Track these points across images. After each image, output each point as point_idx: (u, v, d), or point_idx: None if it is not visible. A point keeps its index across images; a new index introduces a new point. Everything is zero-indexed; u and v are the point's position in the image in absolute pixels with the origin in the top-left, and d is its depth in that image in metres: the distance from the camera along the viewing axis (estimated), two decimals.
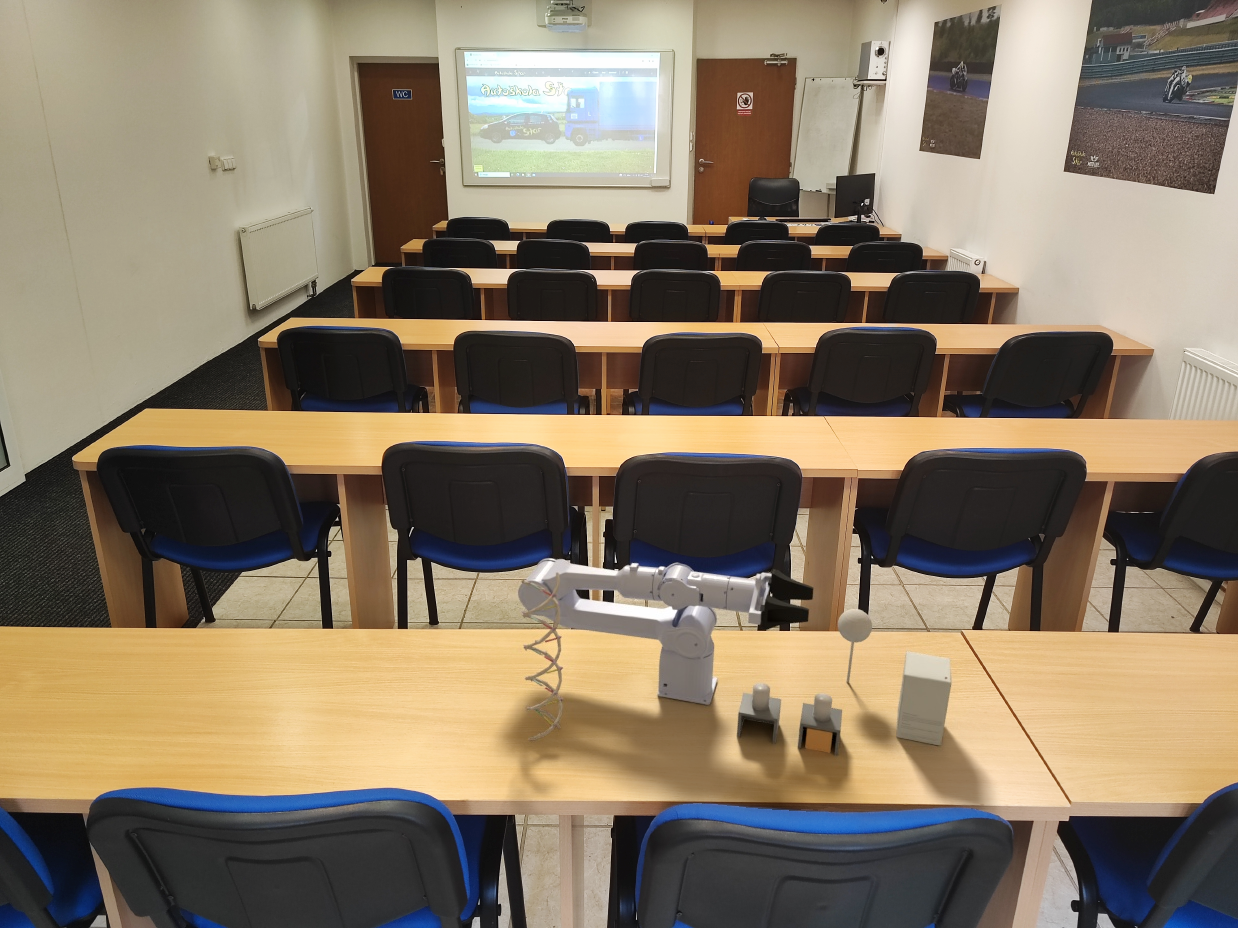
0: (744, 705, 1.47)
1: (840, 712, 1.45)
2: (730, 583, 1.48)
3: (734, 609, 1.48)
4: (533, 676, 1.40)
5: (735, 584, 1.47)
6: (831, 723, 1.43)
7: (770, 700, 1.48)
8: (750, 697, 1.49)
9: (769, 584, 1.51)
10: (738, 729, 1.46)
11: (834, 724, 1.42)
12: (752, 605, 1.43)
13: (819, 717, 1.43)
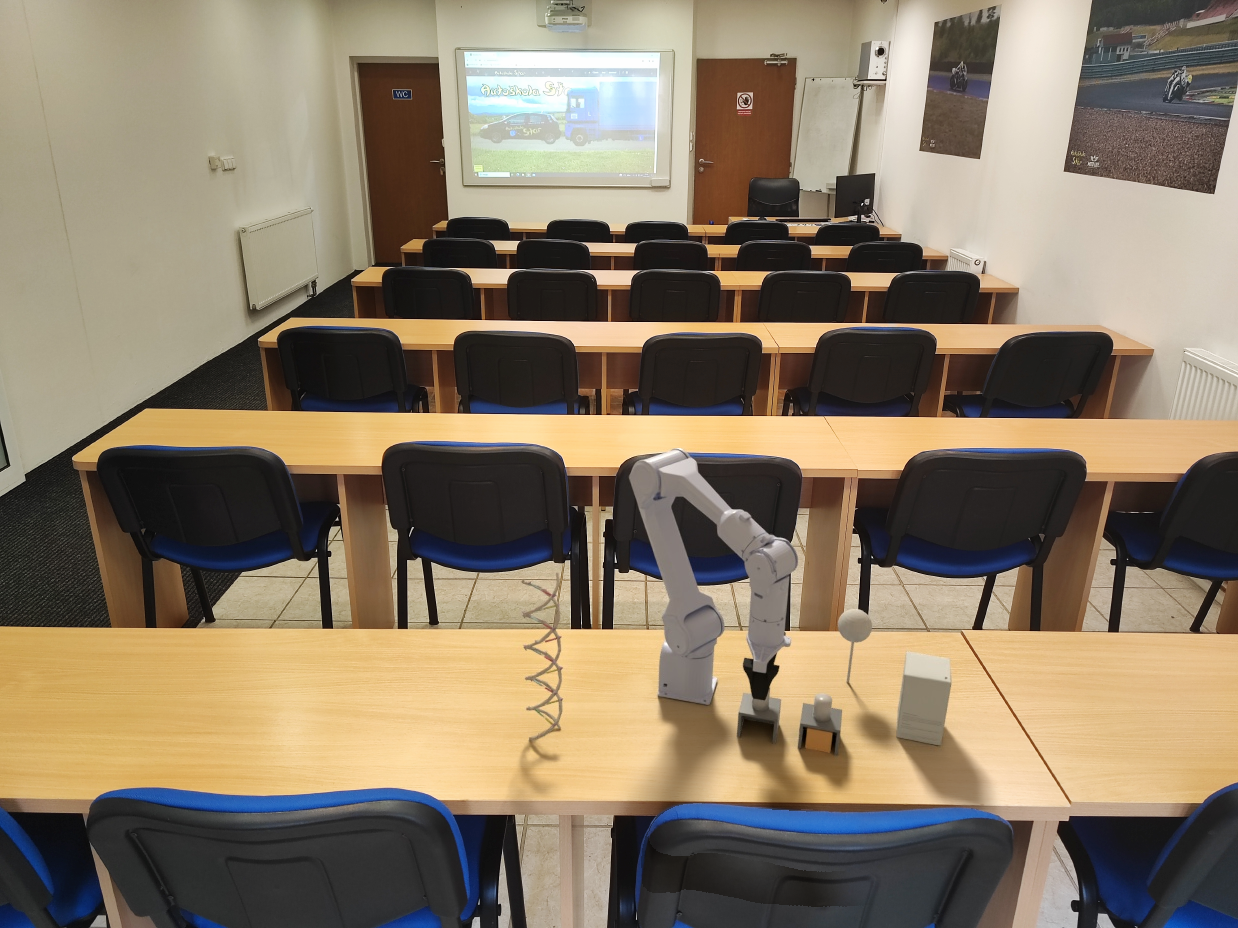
0: (744, 705, 1.47)
1: (840, 712, 1.45)
2: (782, 621, 1.39)
3: (754, 625, 1.39)
4: (533, 676, 1.40)
5: (782, 625, 1.39)
6: (831, 723, 1.43)
7: (770, 700, 1.48)
8: (750, 697, 1.49)
9: None
10: (738, 729, 1.46)
11: (834, 724, 1.42)
12: (769, 657, 1.37)
13: (819, 717, 1.43)
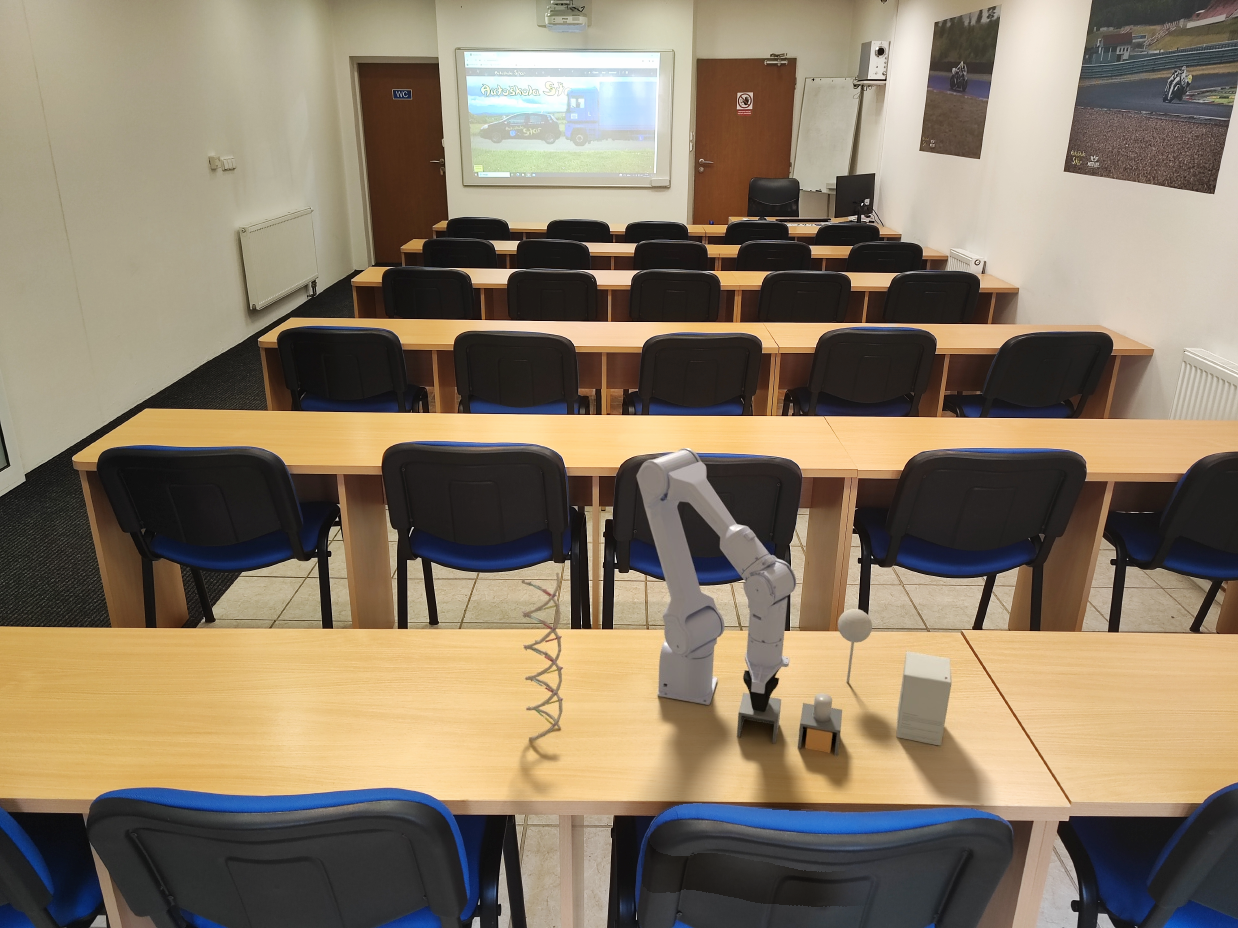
0: (744, 705, 1.47)
1: (840, 712, 1.45)
2: (780, 641, 1.40)
3: (753, 646, 1.40)
4: (533, 676, 1.40)
5: (780, 646, 1.40)
6: (831, 723, 1.43)
7: (770, 700, 1.48)
8: None
9: None
10: (738, 729, 1.46)
11: (834, 724, 1.42)
12: (767, 678, 1.38)
13: (819, 717, 1.43)
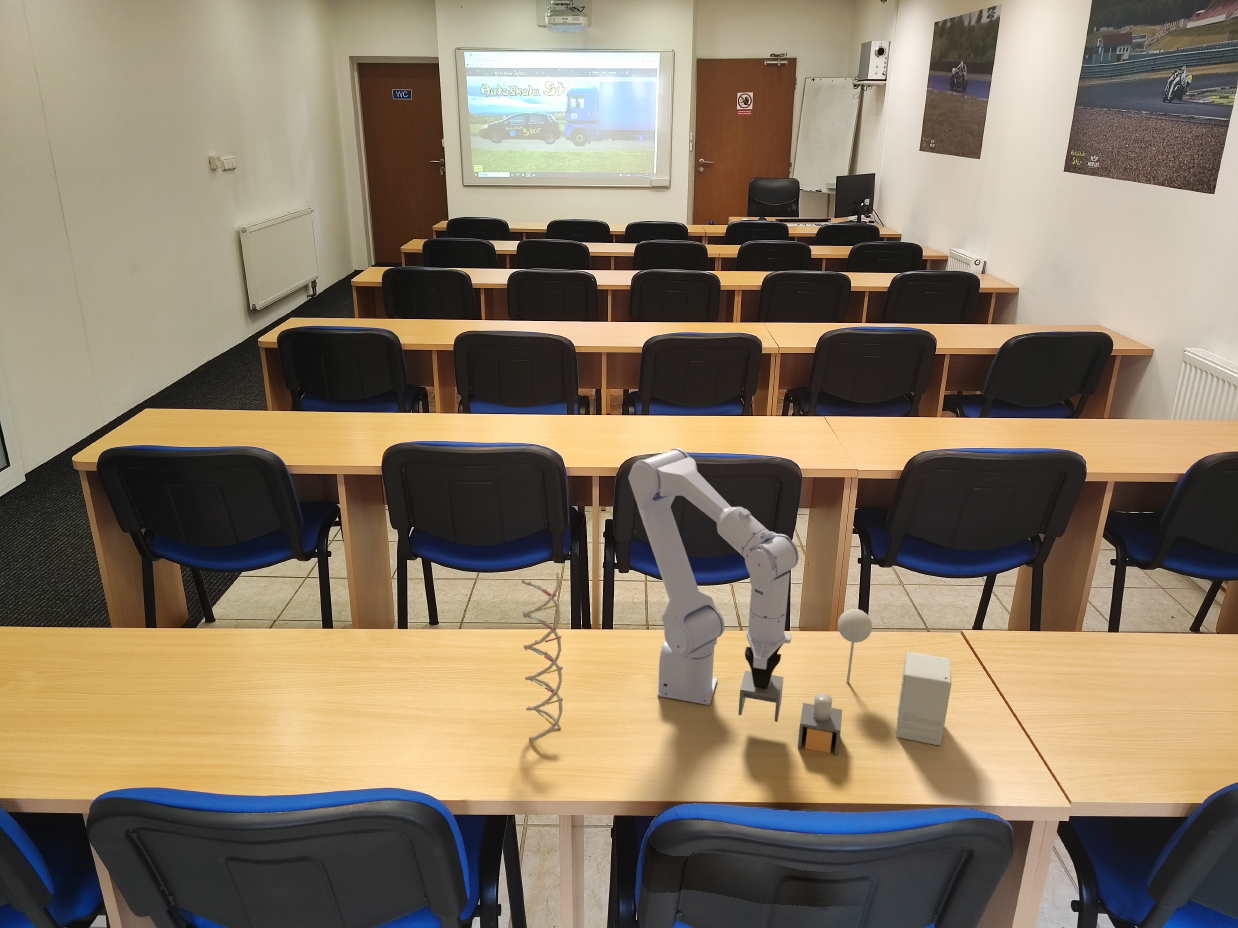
0: (746, 683, 1.45)
1: (840, 712, 1.45)
2: (783, 617, 1.38)
3: (754, 622, 1.39)
4: (533, 676, 1.40)
5: (782, 622, 1.39)
6: (831, 723, 1.43)
7: (772, 678, 1.46)
8: None
9: None
10: (740, 707, 1.45)
11: (834, 724, 1.42)
12: (769, 654, 1.37)
13: (819, 717, 1.43)
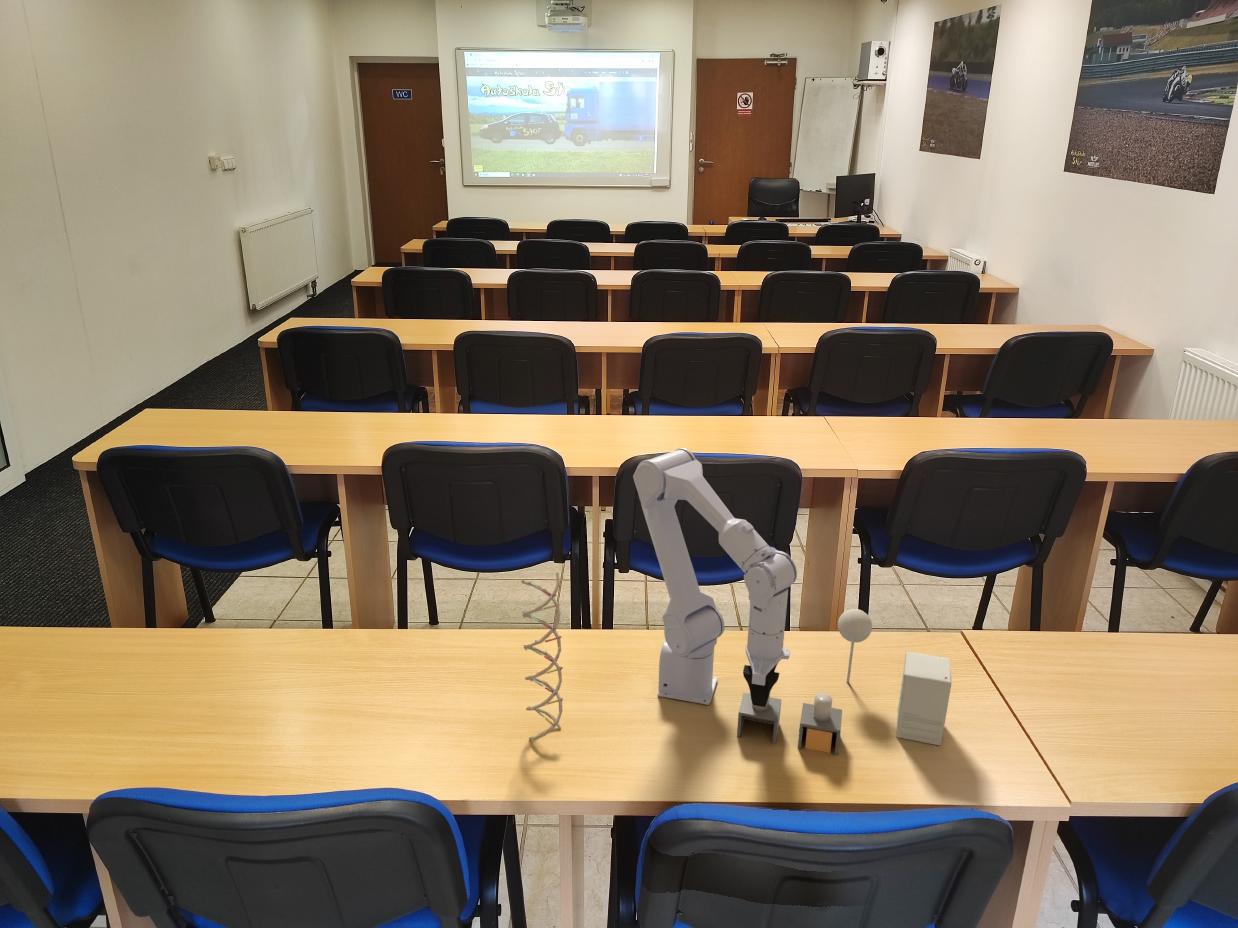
0: (744, 705, 1.47)
1: (840, 712, 1.45)
2: (781, 633, 1.39)
3: (753, 638, 1.40)
4: (533, 676, 1.40)
5: (780, 638, 1.40)
6: (831, 723, 1.43)
7: (770, 700, 1.48)
8: (750, 697, 1.49)
9: None
10: (738, 729, 1.46)
11: (834, 724, 1.42)
12: (768, 670, 1.38)
13: (819, 717, 1.43)
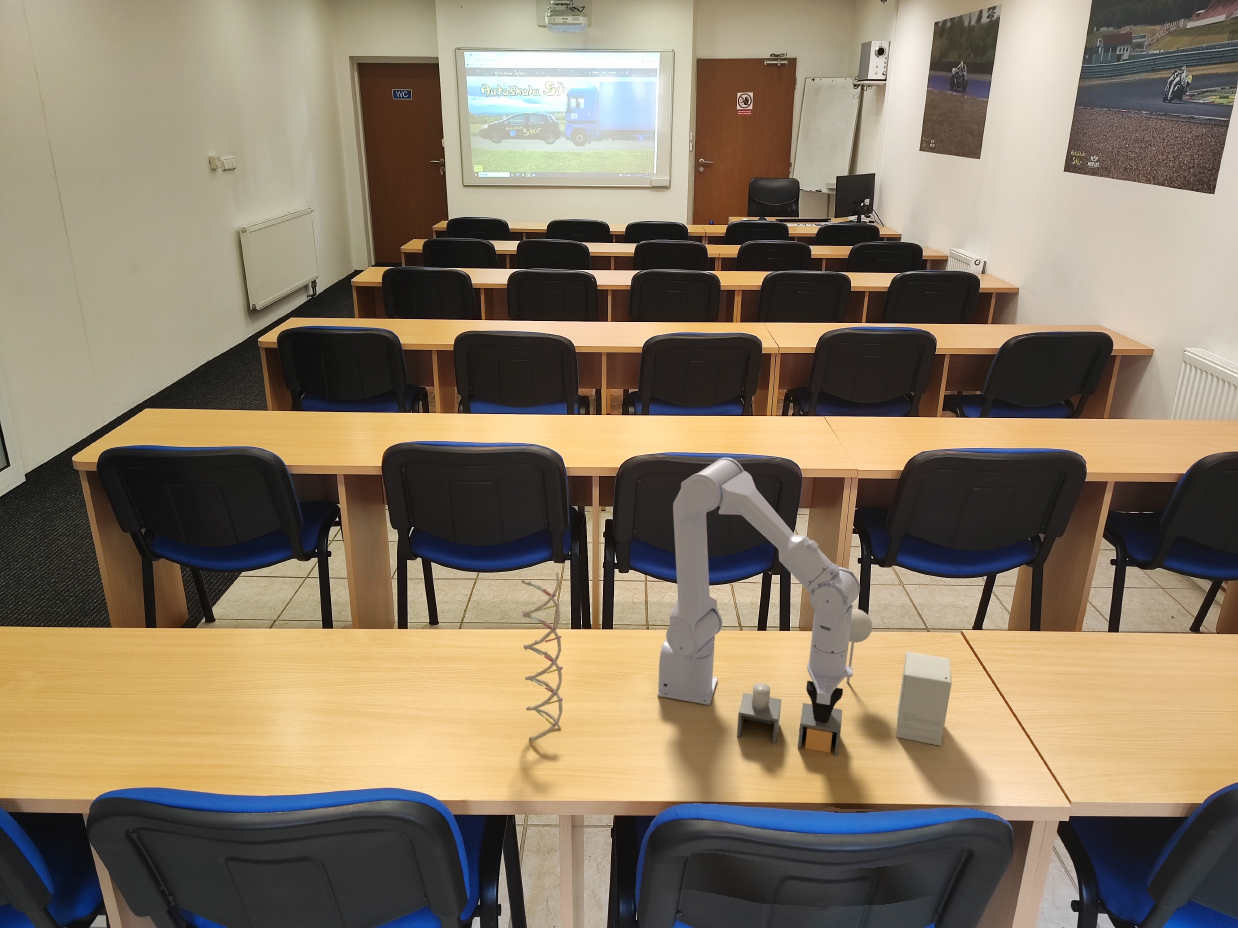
0: (744, 705, 1.47)
1: (840, 712, 1.45)
2: (845, 651, 1.37)
3: (817, 656, 1.38)
4: (533, 676, 1.40)
5: (844, 656, 1.38)
6: (831, 723, 1.43)
7: (770, 700, 1.48)
8: (750, 697, 1.49)
9: None
10: (738, 729, 1.46)
11: (834, 724, 1.42)
12: (833, 689, 1.36)
13: None
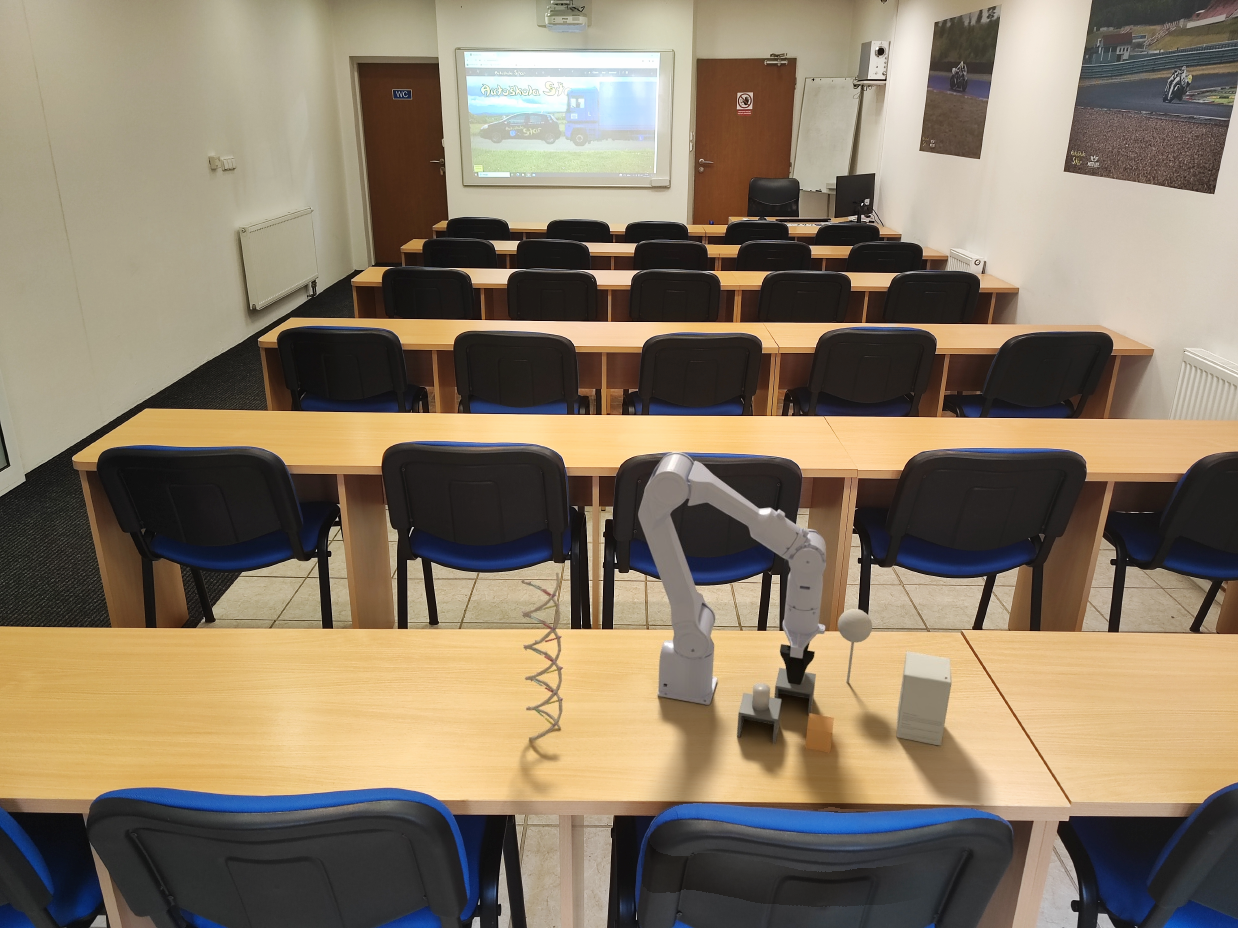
0: (744, 705, 1.47)
1: (814, 676, 1.54)
2: (817, 609, 1.46)
3: (791, 613, 1.47)
4: (533, 676, 1.40)
5: (817, 613, 1.46)
6: (804, 685, 1.52)
7: (770, 700, 1.48)
8: (750, 697, 1.49)
9: None
10: (738, 729, 1.46)
11: (807, 686, 1.52)
12: (805, 644, 1.44)
13: None
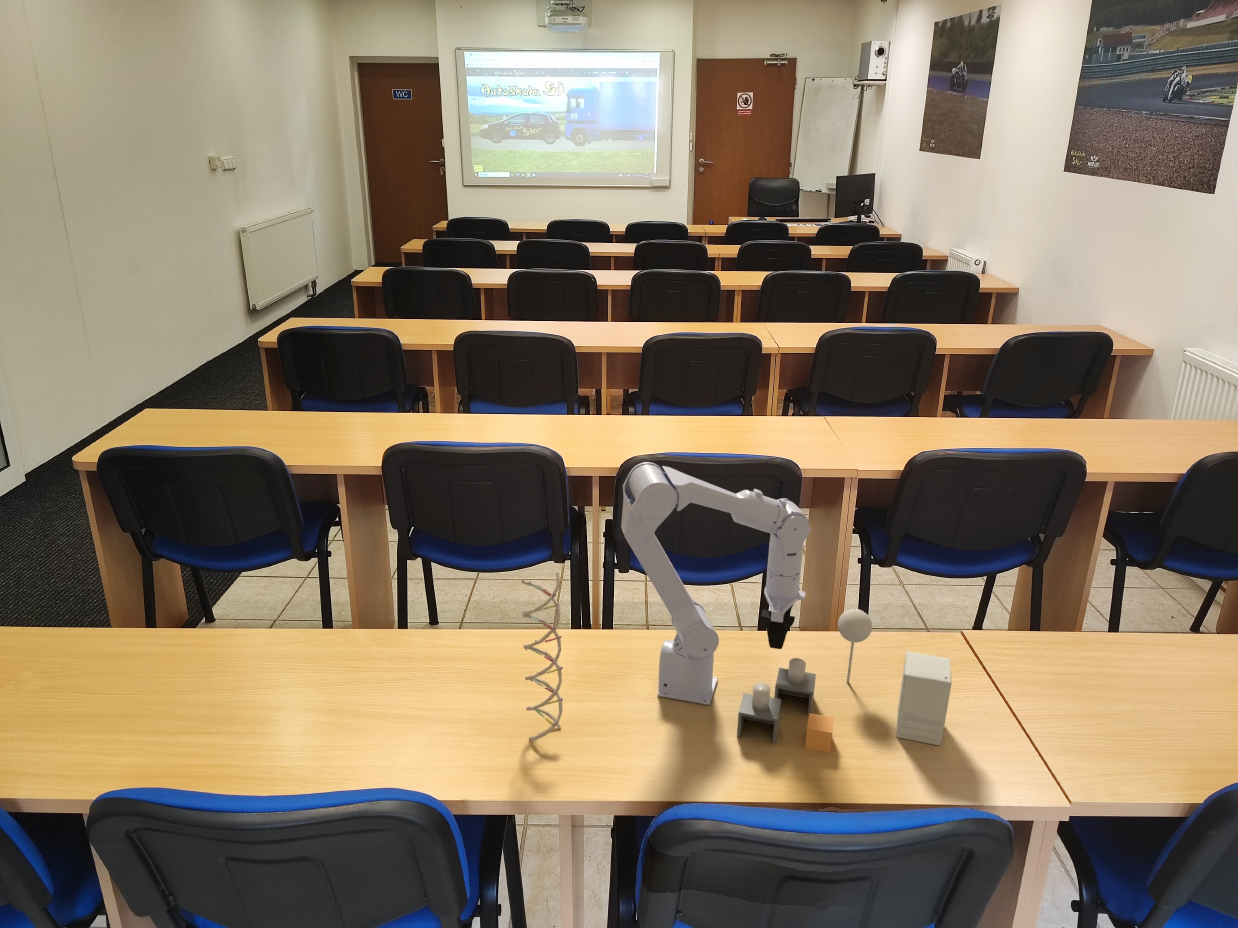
0: (744, 705, 1.47)
1: (814, 676, 1.54)
2: (798, 575, 1.52)
3: (772, 580, 1.52)
4: (533, 676, 1.40)
5: (797, 580, 1.52)
6: (804, 685, 1.52)
7: (770, 700, 1.48)
8: (750, 697, 1.49)
9: None
10: (738, 729, 1.46)
11: (807, 686, 1.52)
12: (786, 609, 1.50)
13: (793, 680, 1.52)
